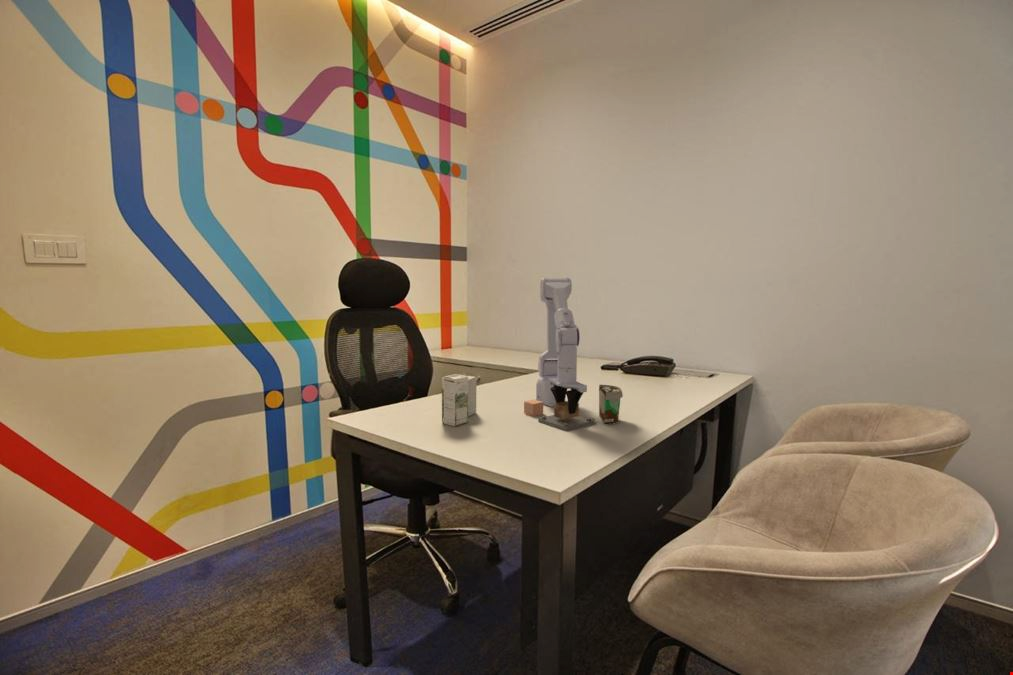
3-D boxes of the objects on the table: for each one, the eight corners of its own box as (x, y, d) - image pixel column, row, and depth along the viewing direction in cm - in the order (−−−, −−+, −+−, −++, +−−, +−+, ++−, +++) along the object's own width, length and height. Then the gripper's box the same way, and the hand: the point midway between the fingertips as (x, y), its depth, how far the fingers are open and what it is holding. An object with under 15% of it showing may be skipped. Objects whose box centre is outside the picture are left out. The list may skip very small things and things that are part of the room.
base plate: (538, 421, 148) (538, 416, 148) (566, 415, 156) (566, 410, 156) (566, 431, 139) (566, 425, 139) (594, 423, 146) (594, 418, 146)
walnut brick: (554, 416, 147) (554, 403, 147) (568, 413, 151) (568, 400, 150) (564, 419, 144) (564, 406, 143) (578, 416, 147) (578, 403, 147)
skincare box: (465, 411, 160) (464, 375, 159) (477, 413, 158) (477, 376, 157) (455, 416, 155) (455, 378, 153) (468, 417, 153) (467, 379, 151)
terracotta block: (524, 413, 158) (524, 401, 158) (534, 411, 161) (534, 399, 160) (532, 416, 155) (533, 404, 154) (543, 414, 157) (543, 402, 157)
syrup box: (455, 419, 151) (454, 373, 149) (468, 422, 147) (468, 375, 146) (441, 423, 146) (440, 376, 145) (455, 427, 143) (454, 378, 141)
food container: (626, 426, 144) (627, 393, 143) (605, 426, 144) (606, 392, 143) (617, 414, 156) (618, 384, 155) (598, 414, 156) (599, 384, 155)
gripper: (540, 365, 149) (540, 408, 150) (575, 372, 137) (574, 419, 139) (557, 363, 153) (557, 405, 155) (592, 369, 142) (591, 415, 143)
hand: (566, 411), depth 147 cm, fingers closed on walnut brick, 4 cm apart
